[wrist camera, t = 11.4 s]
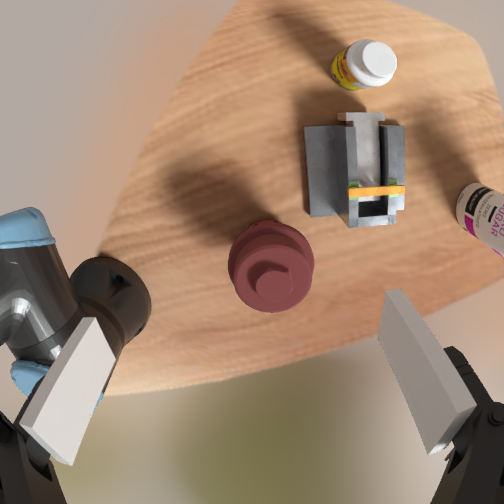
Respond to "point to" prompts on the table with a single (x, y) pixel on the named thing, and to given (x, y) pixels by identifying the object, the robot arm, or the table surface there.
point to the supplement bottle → (364, 65)
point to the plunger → (368, 157)
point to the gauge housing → (352, 174)
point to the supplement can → (482, 215)
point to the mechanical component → (271, 266)
